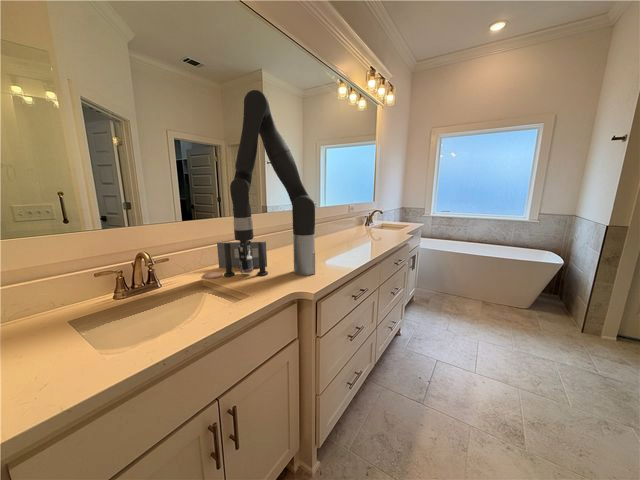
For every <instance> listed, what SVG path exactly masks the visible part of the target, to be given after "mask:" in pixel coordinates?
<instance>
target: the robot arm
mask: <svg viewBox="0 0 640 480" xmlns="http://www.w3.org/2000/svg"><path fill="white" fill-rule="evenodd" d="M276 126H277V125H276V124H275V121H274V119H273V116H272V111H271V109H270V104H269V100H268V98H267V96H266V95H265V94H264V93H263V92H262V91H261V90H258V89H253V90H249V91H248V92H247V93H246V94H245V96H244V99H243V120H242V130H241V136H240V140H239V146H238V149H237V155H236V160H235V173H234V178H233V180H232V181H231V182H230V184H229V191H230V192H229V193H230V198H231V203H232V215H233V232H234V233H233V234H234V240H235V241H236V242H240V245H239V247H238V251H239V258H240V261H242V269H243V270H247V269H248V262H247V260H248V259H247V256H248V255H249V251H250V254H251V242H252V240H253V239H254V238H255V237H254V226H253V219H252V207H251V204H250V190H251V187H252V186H251V184H252V179H253V173H254V169H255V164H256V159H257V154H258V145H259V136H260V138H261V140H262V141H261V142H262V144H263V147H264V151H265V153H266V156H267V158H268V160H269V163H270V164H271V167H272V169H273V171H274V173H275V175H276V176H277V177H278V179H279V181H280V182H281V184H282V185H283V187H284V189H285V191H286V192H287V195H288V197H289V200H290V203H291V208H292V211H291V213H292V233H293V234H292V235H293V236H292V239H293V241H292V242H293V246H292V247H293V250H292V251H293V273H294V274H295V275H298V276H310V275H315V274H316V249H315V247H316V241H315V239H316V235H315V231H316V205H315V202H314V200H313V199H312V198H311V197H310V196H309V194H308V192H307V190H306V188H305V187H304V184H303V183H302V180H301V177H300V173H299V170H298V167H297V164H296V161H295V159H294V157H293V154H292V152H291V149H290V148H289V146H288V144H287V143H286V141H285V139H284V138H283V136H282V135H281V133H280V131H279V130H278V128H277V127H276ZM246 252H247V253H246ZM243 256H244V258H243ZM250 256H251V255H250Z"/></svg>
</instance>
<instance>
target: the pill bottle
mask: <svg viewBox="0 0 640 480" xmlns="http://www.w3.org/2000/svg"><path fill="white" fill-rule="evenodd" d="M246 253H247V252H246ZM243 258H244V256H243ZM247 259H248V260H247V262H248V269H247V270H243V269H242V261H240V258H239V262H240V268H239V269H240V270H239V271H240V273H241V274H251V273H253V272H254V267H253V262H252V256H250V251H249V255H248V256H247Z"/></svg>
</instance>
